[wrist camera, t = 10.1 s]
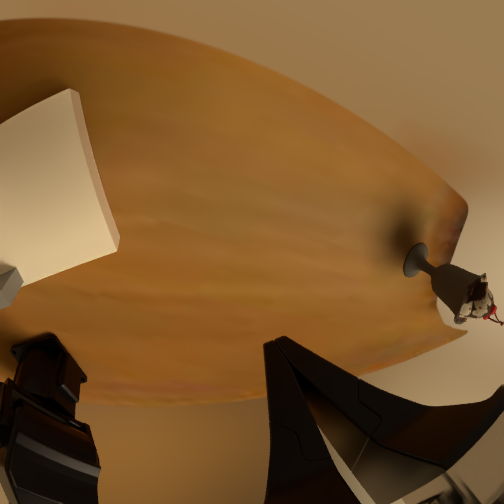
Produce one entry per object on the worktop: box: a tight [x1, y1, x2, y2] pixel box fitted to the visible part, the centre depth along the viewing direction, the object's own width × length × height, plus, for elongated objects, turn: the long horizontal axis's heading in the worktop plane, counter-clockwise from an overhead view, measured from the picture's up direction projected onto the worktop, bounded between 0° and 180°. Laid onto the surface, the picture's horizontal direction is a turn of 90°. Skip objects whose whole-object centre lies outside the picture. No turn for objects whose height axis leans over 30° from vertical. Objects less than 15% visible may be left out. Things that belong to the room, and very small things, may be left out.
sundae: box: [404, 243, 504, 326], centre depth 26 cm, size 7×7×15 cm
